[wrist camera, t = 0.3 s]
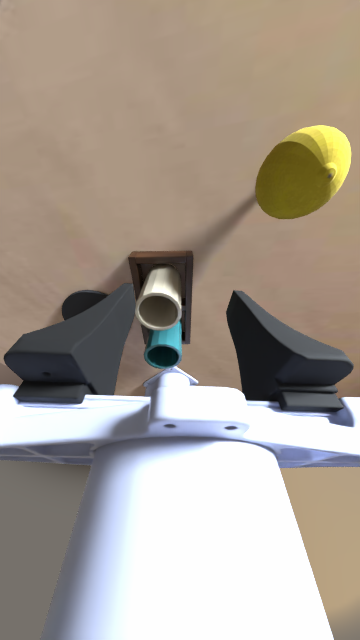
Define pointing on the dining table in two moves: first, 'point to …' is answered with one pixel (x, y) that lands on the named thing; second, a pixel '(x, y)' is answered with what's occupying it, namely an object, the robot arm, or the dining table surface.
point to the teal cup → (164, 347)
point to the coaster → (80, 302)
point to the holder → (165, 258)
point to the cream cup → (160, 298)
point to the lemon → (303, 172)
